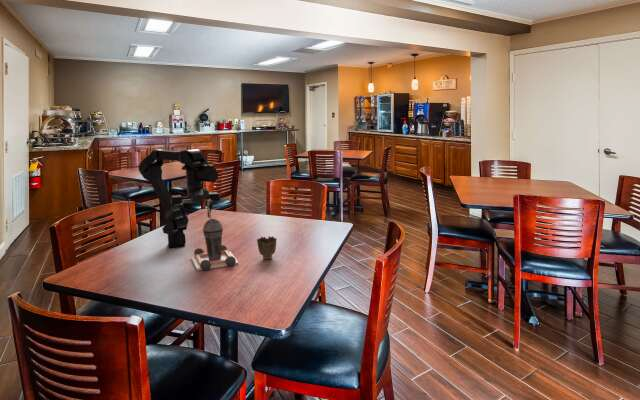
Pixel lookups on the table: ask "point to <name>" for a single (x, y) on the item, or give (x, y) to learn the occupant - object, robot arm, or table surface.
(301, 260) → the table surface
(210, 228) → the beverage cup
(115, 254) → the table surface
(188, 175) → the robot arm
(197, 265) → the chassis
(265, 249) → the cup
